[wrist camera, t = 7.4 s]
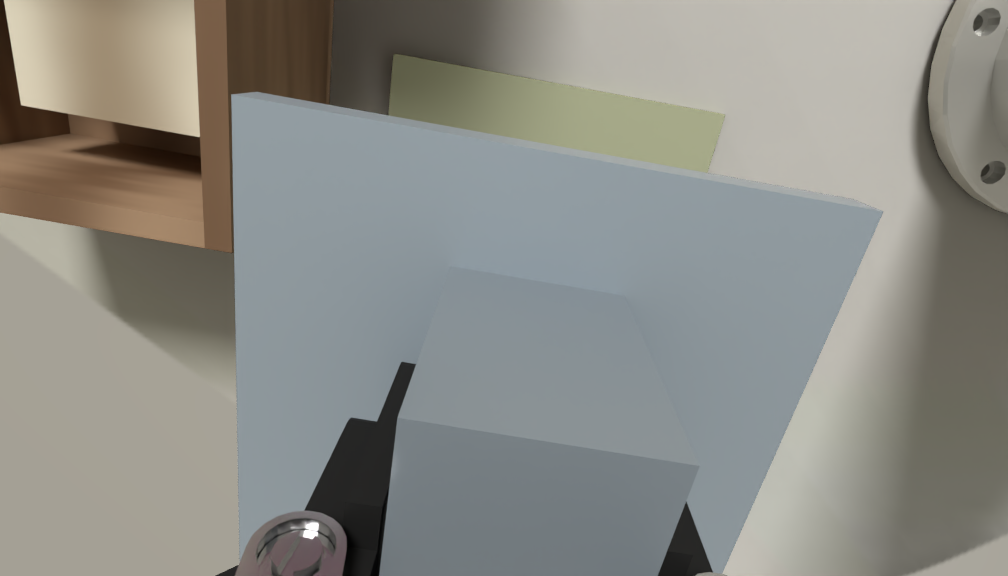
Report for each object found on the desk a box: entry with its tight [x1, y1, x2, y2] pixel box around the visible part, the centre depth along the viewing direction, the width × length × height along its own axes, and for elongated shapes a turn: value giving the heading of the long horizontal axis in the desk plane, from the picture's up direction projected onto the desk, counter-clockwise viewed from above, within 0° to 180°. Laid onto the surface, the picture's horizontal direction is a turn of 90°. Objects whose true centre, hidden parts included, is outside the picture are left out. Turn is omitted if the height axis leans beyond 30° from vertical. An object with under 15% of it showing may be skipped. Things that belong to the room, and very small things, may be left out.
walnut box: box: [0, 0, 334, 253], centre depth 18 cm, size 11×11×8 cm
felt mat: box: [388, 54, 725, 173], centre depth 24 cm, size 13×13×1 cm
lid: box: [231, 92, 883, 576], centre depth 11 cm, size 12×12×7 cm
